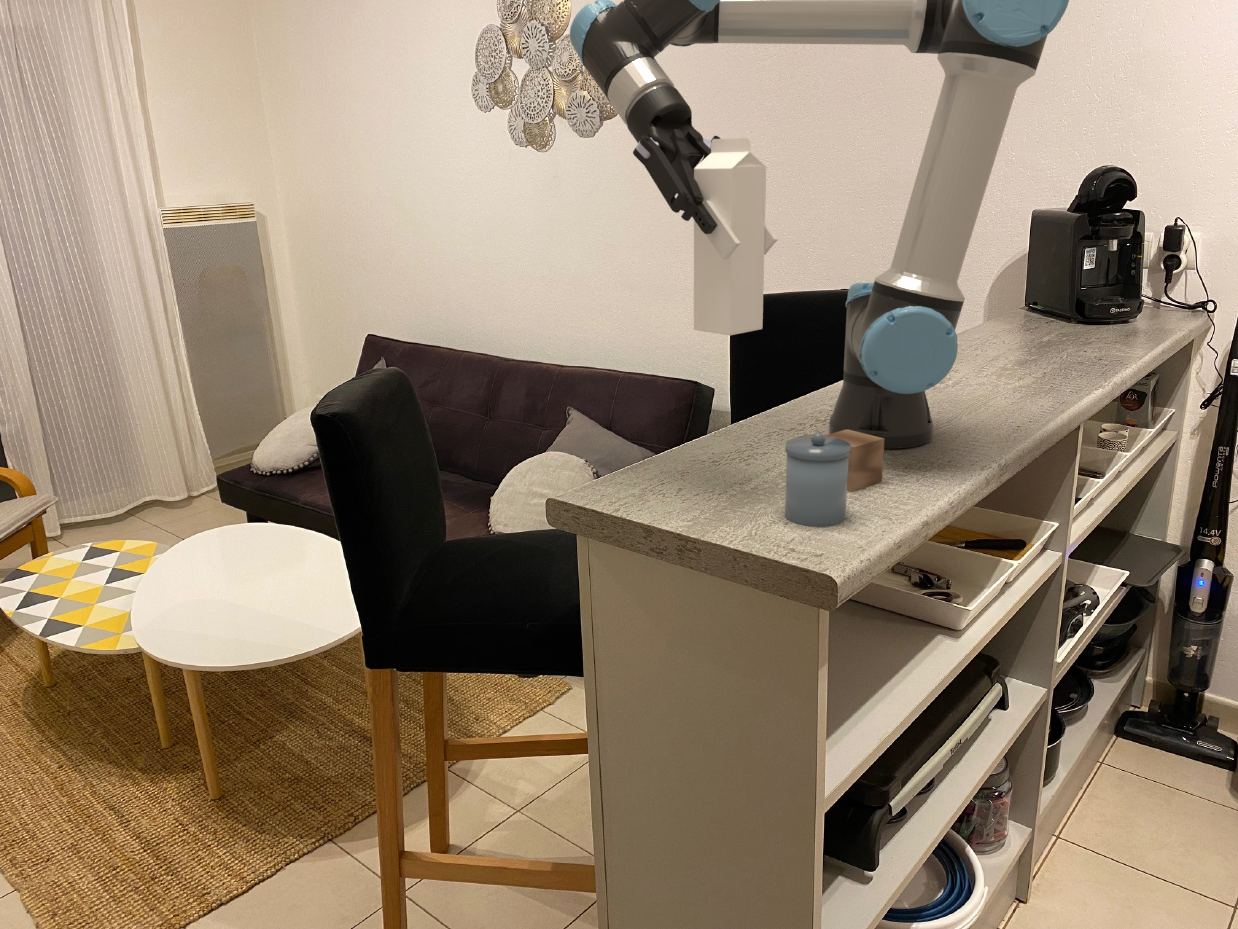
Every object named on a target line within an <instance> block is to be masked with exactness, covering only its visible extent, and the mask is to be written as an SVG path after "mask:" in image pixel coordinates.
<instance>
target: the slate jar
mask: <svg viewBox="0 0 1238 929" xmlns="http://www.w3.org/2000/svg"><path fill="white" fill-rule="evenodd" d="M824 435H825V434H823V433H821V432H815V433H814V434H812V435H806V436H805V435H804V436H797V437H793V438H790V439H788V440H786V442H785V446H784V452H785V453H786V470H785V497H784V498H785V501H784V502H785V503H784V517H785V519H786V520H788V521H789V522H791V523H793V524H796V525H800V526H804V527H808V528H809V527H810V528H811V527H812V528H827V527H835V526H837V525H840V524H842V523H844V522H845V520H846V517H847V516H846V514H847V497H848V496H847V494H848V491H847V479H848V459H849V455H850V453H851V445H850V443H848V442H847V441H845V440H842V439H838V438H833V437H826V436H824Z"/></svg>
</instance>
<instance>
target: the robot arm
mask: <svg viewBox="0 0 1238 929" xmlns="http://www.w3.org/2000/svg"><path fill="white" fill-rule="evenodd" d="M1069 2H1070V0H623V1H620V2H619V4H616V3H615V2H614V1H611V0H595V2H594V3H593V2H592V3H587V4H585V6H583V7H582V8H581V9H580V10H579V11H578V12H577V13H576V15H575V16H574V18H573V20H572V23H571V25H570V29H569V39H570V40H569V41H570V43H571V45H572V47H573V49H574V51H575V52H576V54H577V56H578V57H579V59H580V62H581V64H582V65H583V66H584V67H585V69H586V71H587V72H588V73H589V75H590V77H591V78H592V79H593V80H594V82H595V83H596V85H597V86H598V87H599V89H600V90H601V92H602V93H603V94H604V96H605V97H606V99H607V100H608V101H609V103H610V104H611V105H612V106H613V108H614V109H615V111H616V113H617V114H618V116H619V117H620V119H621V121H622V122H623V123H624V124H625V125H626V126H627V129H628V131H629V132H630V134H631V135H632V137H633V138H634V139H635V141H636V143H637V145H636V146H635V147H634V149H633V151H632V154H633V156H635V158H636V159H637V160H638V161H639V162H640V163H641V164H642V165H643V166H644V168H645V169H646V171H647V173H648V174H649V176H650V177H651V179H652V181H653V182H654V184H655V185H656V187H657V189H658V190H659V191H660V194H661V195H662V196H663V198H664V200H665V202H666V203H667V205H668V206H669V209H670V210H671V211H672V212H674V213H676V214H677V213H678V214H679V213H680V211H681V212H682V211H683V212H682V214H681V219H683V220H684V221H686V222H689V221H690V220H691V219H693V221H694V220H695V222H696V223H697V224H698V226H699V227H700V229H701V230H702V232H704V233H705V234H706V236H707V237H708V238H709V240H710V241H711V243H712V244H713V246H714V247H715V249H716V250H717V251H718V253H719V254H720V256H721V257H722V259H723V260H727V259H728V258H729V257H730V256H731V255H732V253H733V252H734V251H735V250H736V248H737V247H738V246H739V244H740V241H739V240H738V239H737V237H736V236H735V234H734V233H733V231H732V230H731V229H730V227H729V226H728V225H727V223H726V222H725V220H724V219H723V217H722V216H721V214H720V213H719V212H718V210H717V209H716V207H715V206H714V204H713V203H712V202H711V200H710V201H706V202H705V203H704V204H703V203H702V202H703V200H704V198H703V196H702V193H701V191H700V189H699V186H698V184H697V182H696V180H695V179H694V168H695V167H696V166H697V165H698V164H699V163H701V162H702V161H703V160H704V159H705V158H706V157H707V156H708V155H709V154H710V153H711V142H712V140H713V139H722V138H721V137H720V136H718V135H713V137H712V138H711V139H707V138H704V136H703V135H702V134H701V133H700V132H699V131H698V130H697V129H695V128H694V126H693V122H692V112H693V111H692V109H691V107H690V105H689V104H688V102H687V101H686V100H685V98H684V97H683V95H682V94H681V93H680V92H679V90H678V89H677V88H676V87H675V84H674V82H673V81H672V80H671V79H670V77H669V75H668V74H667V73H666V72H665V71H664V69H663V68H662V66H660V65H661V64H659V63H658V61H657V60H656V59H655V57H657V55H659V54H660V53H662V52H663V51H664V50H665V49H666V48H667V47H668V46H670V45H671V46H674V47H689V46H692V45H697V44H700V45H701V44H703V45H704V44H705V45H707V44H709V45H710V44H756V45H757V44H763V45H764V44H767V45H768V44H771V45H773V44H776V45H777V44H778V45H781V44H782V45H789V44H791V45H794V44H795V45H869V46H870V45H875V46H877V45H878V46H879V45H880V46H882V45H883V46H884V45H885V46H887V45H889V46H890V45H892V46H895V45H897V46H901V45H902V46H905V47H906V49H908V50H909V52H910V53H911V54H930V55H933V54H934V55H935V54H936V55H937V60H938V62H939V64H940V66H941V68H942V69H943V72H944V75H945V76H944V79H943V82H942V86H941V90H940V93H939V96H938V100H937V104H936V107H935V111H934V114H933V118H932V121H931V125H930V128H929V131H928V135H927V139H926V142H925V145H924V149H923V152H922V157H921V160H920V163H919V166H918V170H917V173H916V178H915V180H914V184H913V188H912V191H911V194H910V197H909V198H910V199H909V202H908V206H907V209H906V211H905V216H904V220H903V224H902V227H901V230H900V232H899V236H898V240H897V244H896V247H895V250H894V254H893V257H892V258H893V259H892V262H891V264H890V267H889V269H887V270H886V271H884V272H882V273H881V274H879V275H878V276H875V278H874V281H873V282H858V283H854V284H852V285H850V286H849V288H848V292H847V297H846V298H847V299H846V301H845V308H846V317H845V318H846V321H845V337H844V356H843V357H844V358H843V379H842V387H841V389H840V392H839V395H838V397H837V399H836V403H835V405H834V409H833V412H832V414H831V415H830V418H829V421H828V422H829V428H828V434H832V433H835V432H839V431H843V430H847V429H848V430H852V431H856V432H860V433H864V434H868V435H872V436H876V437H880V438H884V450H885V449H886V450H887V449H888V450H889V449H896V450H897V449H907V448H916V447H920V446H924V445H925V444H928V443H930V442H931V441H932V440H933V435H934V434H933V433H934V422H933V419H932V417H931V411H930V407H929V403H928V399H927V395H926V391H927V390H929V389H932V388H934V387H935V386H937V385H938V384H939V383H941V382H942V381H943V380H944V379H945V378H946V377H947V376H948V375H949V374H950V371H952V369H953V366H954V365H955V363H956V359H957V356H958V344H959V343H958V334H957V333H956V328H957V325H958V321H959V318H960V315H961V313H962V309H963V306H964V303H965V296H964V294H963V292H962V291H961V289H960V287H959V285H958V281H959V277H960V274H961V271H962V267H963V264H964V260H965V258H966V254H967V252H968V248H969V245H970V242H971V238H972V236H973V231H974V229H975V224H976V223H977V219H978V215H979V213H980V209H981V206H982V202H983V199H984V196H985V193H986V189H987V188H988V184H989V180H990V176H991V173H992V171H993V167H994V164H995V160H996V157H997V153H998V151H999V147H1000V144H1001V141H1002V138H1003V135H1004V132H1005V128H1006V126H1007V122H1008V119H1009V115H1010V112H1011V109H1012V106H1013V103H1014V100H1015V96H1016V93H1017V90H1018V88H1019V87H1020V86H1021V85H1022V84H1023V83H1025V82H1026V81H1028V80H1030V79H1031V78H1033V77H1034V76H1035V75H1036V72H1037V69H1038V65H1039V62H1040V60H1041V57H1042V54H1043V51H1044V48H1045V44H1046V41H1047V38H1048V35H1049V34H1051V33H1052V31H1053V30H1054V29H1055V28H1056V27H1057V25H1058V24H1059V23H1060V21H1061V20H1062V17H1063V16H1064V14H1065V12H1066V10H1067V8H1068V6H1069ZM676 195H677V196H676ZM778 240H779V238H778V236H777V235H776V234H775V232H774V230H772V229H771V227H770V225H769V224H768V222H767V221H766V220H765V242H764V256H765V255H767V253H768V252H769V251H770V250H771V248H772V247H774V245H775V244H776V243H777V242H778Z"/></svg>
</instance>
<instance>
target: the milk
mask: <svg viewBox="0 0 1238 929" xmlns="http://www.w3.org/2000/svg"><path fill="white" fill-rule="evenodd" d="M711 140H712V139H711ZM701 161H702V160H701ZM701 161H700V162H701ZM700 162H699V164H698V165H697V166H696V167H695V168H694V179H695V180H696V182H697V184H698V186H699V189H700V191H701V193H702V196H703V198H704V200H703V202H702V203H703V204H704V203H705V202H706V201H710V200H711V202H712V203H713V204H714V206H715V207H716V209H717V210H718V212H719V213H720V214H721V216H722V217H723V219H724V220H725V222H726V223H727V225H728V226H729V227H730V229H731V230H732V231H733V233H734V234H735V236H736V237H737V239H738V240H739V241H740V244H739V246H738V247H737V248H736V250H735V251H734V252H733V253H732V255H731V256H730V257H729V258H728V259H727V260H723V259H722V257H721V256H720V254H719V253H718V251H717V250H716V249H715V247H714V246H713V244H712V243H711V241H710V240H709V238H708V237H707V236H706V234H705V233H704V232H702V230H701V229H700V227H699V226H698V224H697V223H696V222H695V220H694V219H693V330H694V331H699V332H705V333H712V334H719V335H723V336H724V335H725V336H733V335H734V336H735V335H738V334H745V333H750V332H754V331H758V330H763V324H764V323H763V321H764V320H763V319H764V315H763V314H764V285H765V284H764V280H765V279H764V278H765V276H764V274H765V272H764V271H765V255H764V242H765V221H766V196H767V192H766V190H767V166H766V165H765V164H764V163H763V162H762V161H760V160H759V158H757V157H756V156H755V155H754V154H753V153H752V152H751V140H750V138H749V137H735V138H734V137H732V138H721V139H713V140H712V142H711V153H710V154H709V155H708V156H707V157H706V158H705V159H704V160H703V161H702V162H701V163H700Z"/></svg>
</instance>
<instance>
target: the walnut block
mask: <svg viewBox="0 0 1238 929" xmlns="http://www.w3.org/2000/svg"><path fill="white" fill-rule="evenodd" d="M823 435H824V436H826V437H833V438H838V439H842V440H845V441H847V442H848V443H850V445H851V453H850V455H849V459H848V479H847V492H849V493H853V492H856V491H859V490H862V489H866V488H869V487H871V486H875V485H877V484H881V483H883V482H882V480H883V470H884V469H883V465H884V452H885V449H884V438H880V437H876V436H872V435H868V434H864V433H860V432H856V431H852V430H848V429H847V430H843V431H839V432H835V433H832V434H829V433H828V434H823Z"/></svg>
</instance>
